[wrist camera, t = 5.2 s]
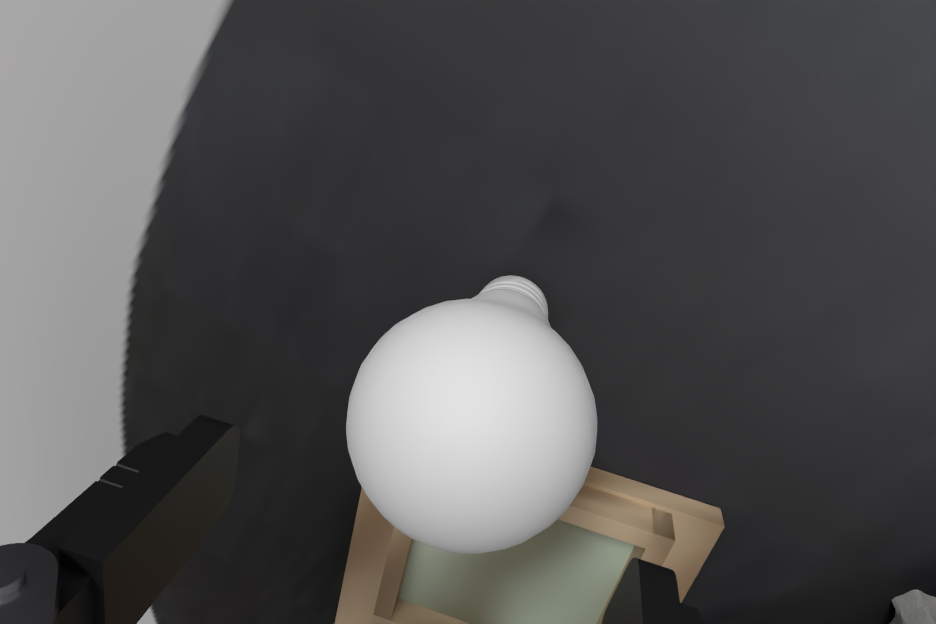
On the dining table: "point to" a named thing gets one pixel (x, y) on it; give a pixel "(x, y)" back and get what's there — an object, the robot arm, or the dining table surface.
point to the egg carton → (914, 608)
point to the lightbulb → (473, 421)
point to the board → (528, 561)
